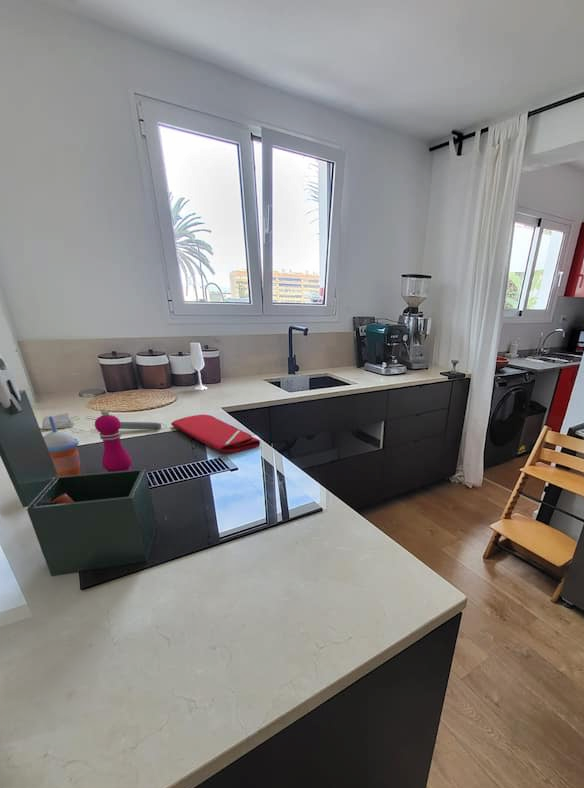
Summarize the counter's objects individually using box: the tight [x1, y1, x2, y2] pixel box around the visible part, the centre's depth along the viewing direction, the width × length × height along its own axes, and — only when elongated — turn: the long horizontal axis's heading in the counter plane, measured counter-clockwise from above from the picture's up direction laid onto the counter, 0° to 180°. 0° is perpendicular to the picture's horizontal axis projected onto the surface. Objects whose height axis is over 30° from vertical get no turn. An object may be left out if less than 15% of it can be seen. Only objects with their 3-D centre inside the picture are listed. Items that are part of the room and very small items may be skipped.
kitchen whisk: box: [66, 415, 168, 434], centre depth 148 cm, size 6×34×6 cm, turn 102°
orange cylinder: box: [52, 493, 74, 505], centre depth 79 cm, size 3×3×13 cm
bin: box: [26, 468, 158, 577], centre depth 80 cm, size 17×14×15 cm
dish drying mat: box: [170, 414, 261, 454], centre depth 147 cm, size 16×41×4 cm, turn 45°
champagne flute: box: [189, 342, 208, 391], centre depth 211 cm, size 7×7×24 cm
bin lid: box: [0, 389, 57, 508], centre depth 71 cm, size 18×14×1 cm
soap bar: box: [41, 412, 74, 430], centre depth 152 cm, size 10×6×6 cm, turn 121°
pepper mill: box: [94, 409, 133, 472], centre depth 110 cm, size 7×7×20 cm
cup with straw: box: [43, 416, 82, 477], centre depth 109 cm, size 9×9×18 cm
